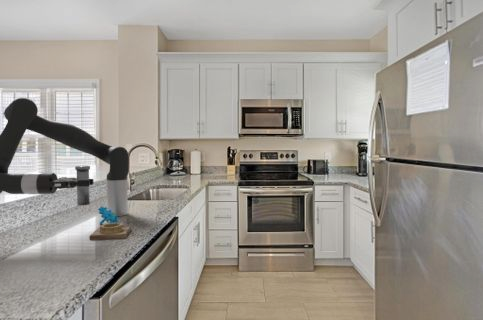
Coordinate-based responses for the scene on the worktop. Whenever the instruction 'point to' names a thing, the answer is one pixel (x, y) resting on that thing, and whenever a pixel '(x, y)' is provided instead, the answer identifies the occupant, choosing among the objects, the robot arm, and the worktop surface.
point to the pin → (83, 190)
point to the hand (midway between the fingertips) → (91, 182)
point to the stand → (110, 231)
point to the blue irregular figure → (107, 215)
